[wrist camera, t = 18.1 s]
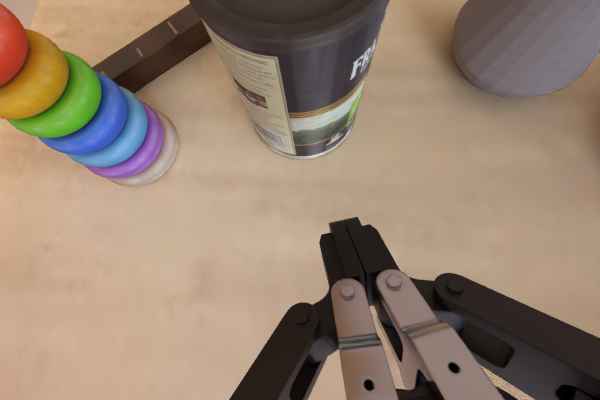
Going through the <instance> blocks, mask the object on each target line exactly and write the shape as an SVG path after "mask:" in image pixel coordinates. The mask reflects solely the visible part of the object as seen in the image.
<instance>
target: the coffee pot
mask: <svg viewBox="0 0 600 400" xmlns="http://www.w3.org/2000/svg"><path fill="white" fill-rule="evenodd" d="M452 48H453V52H454V56H455V60H456V62H457V63H458V65H459V67H460V69H461V70H462V72H463V74H464V75H465V77H466V78H467V79H468V80H469V81H470V82H471V83H472V84H473V85H475V86H477V87H478V88H480V89H481V90H484V91H487V92H490V93H493V94H496V95H499V96H503V97H512V98H528V97H536V96H541V95H546V94H549V93H551V92H554V91H557V90H559V89H562V88H564V87H567V86H568V85H569V84H571V83H572V82H574V81H575V80H576V79H578V78H579V77H580V76H581V75H582V74H583V73H584V72H585V71H586V69H587V68H588V67H589V65H590V64H591V62H592V61H593V60H594V58H595V57H596V56H597V54H598V53H599V52H600V0H468V1H467V2H466V3H465V5H464V6H463V7H462V8H461V10H460V12H459V14H458V17H457V19H456V22H455V24H454V30H453V43H452Z"/></svg>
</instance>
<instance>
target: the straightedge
mask: <svg viewBox="0 0 600 400" xmlns="http://www.w3.org/2000/svg"><path fill="white" fill-rule="evenodd" d="M210 41H212V40H211V38H210V36H209V34H208V32H207V29H206V27H205V25H204V23H203V21H202V19H201V17H200V16H199V15H198V14H197V12H196V11H195V10H194V8H193V7H192V5H191V3H190V4H189V5H187V6H186V7H184V8H183V9H181V10H180V11H178V12H177V13H175V14H174V15H172V16H171V17H169V18H167V19H166V20H164V21H163V22H161V23H160V24H158V25H157V26H155V27H154V28H152V29H151V30H149V31H148V32H146V33H145V34H143V35H141V36H140V37H138V38H137V39H135V40H134V41H132V42H131V43H129V44H128V45H126V46H125V47H123V48H122V49H120V50H118V51H117V52H115V53H114V54H112V55H111V56H109V57H108V58H106V59H105V60H103V61H102V62H100V63H99V64H97V65H96V66H94V67H92V69H93V70H94V71H95V72H98V73H101V74H103V75H105V76H107V77H109V78H110V79H111V80H113V81H114V82H115V83H116V84H117V85H118V86H121V87H123V88H125V89H127V90H129V91H130V92H132V93H134V92H136V91H137V90H139V89H140V88H142V87H143V86H145V85H146V84H148V83H149V82H151V81H152V80H154V79H155V78H157V77H158V76H160V75H161V74H163V73H164V72H166V71H167V70H169V69H170V68H172V67H173V66H175V65H176V64H178V63H179V62H180V61H182V60H183V59H185V58H186V57H188V56H189V55H191V54H192V53H194V52H195V51H197V50H198V49H200V48H201V47H203V46H204V45H206V44H207V43H209V42H210Z"/></svg>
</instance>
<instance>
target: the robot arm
mask: <svg viewBox="0 0 600 400" xmlns="http://www.w3.org/2000/svg"><path fill="white" fill-rule="evenodd" d="M329 227H330V233H327V234H322V235H321V239H320V242H319V243H320V248H321V253H322V258H323V263H324V267H325V271H326V275H327V280H328V284H329V291H328V293H327V295H326V296H325V297H324V298H323V299H322V300H320V301H319V302H317V303H315V304H313V305H311V304H309V303H298V304H295V305H293V306H292V307H291V308H290V309H289V310H288V311H287V312H286V314H285V315H284V317H283V318H282V320H281V322H280V323H279V325H278V326H277V328H276V329H275V331H274V332H273V334H272V335H271V337H270V338H269V340H268V341H267V343H266V344H265V346H264V347H263V349H262V351H261V352H260V354H259V355H258V357H257V358H256V360H255V361H254V363H253V364H252V366H251V367H250V369H249V370H248V372H247V373H246V375H245V377H244V378H243V380H242V381H241V383H240V384H239V386H238V387H237V389H236V390H235V392H234V393H233V395H232V396H231V398H230V399H229V400H308V397H309V395H310V393H311V391H312V389H313V387H314V385H315V382H316V380H317V378H318V376H319V374H320V372H321V370H322V367H323V365H324V363H325V361H326V359H327V356H329V355H330V354H332V353H333V352H335V351H336V350H338V349H339V352H340V359H341V365H342V372H343V378H344V385H345V392H346V398H347V400H518V399H516V398H515V397H513V396H512V395H510V394H509V393H507V392H505V391H504V390H502V389H500V388H498V387H496V386H495V385H494V384H493V383H492V381H491V380H490V379H489V377H488V376H487V374H486V373H485V372H484V370H483V369H482V367H481V366H480V365H482V366H483V367H485V368H486V369H488V370H489V371H491V372H493V373H494V374H496V375H497V376H499V377H500V378H502V379H504V380H505V381H507V382H508V383H510V384H512V385H513V386H515V387H516V388H518V389H519V390H521V391H523V392H524V393H526V394H527V395H529V396H530V397H532V398H534V399H535V400H600V338H598V337H596V336H594V335H591V334H589V333H587V332H585V331H582V330H580V329H578V328H576V327H574V326H571V325H569V324H567V323H565V322H563V321H560V320H558V319H556V318H554V317H551V316H549V315H547V314H545V313H543V312H540V311H538V310H536V309H534V308H531V307H529V306H527V305H525V304H523V303H520V302H518V301H516V300H514V299H511V298H509V297H507V296H505V295H503V294H500V293H498V292H496V291H494V290H491V289H489V288H487V287H485V286H483V285H480V284H478V283H476V282H474V281H472V280H469V279H467V278H465V277H463V276H460V275H457V274H453V273H444V274H441V275H439V276H438V277H437V278H436V279H435V281H428V280H417V279H413V278H411V277H408V276H407V275H406V274H405V273H403V272H402V271H400V269H399V268H398V266H397V265H396V263H395V261H394V259H393V257H392V256H391V254H390V252H389V250H388V248H387V247H386V245H385V243H384V241H383V240H382V238H381V236H380V234H379V232H378V231H377V230H376V229H375V228H374V227H372V226H371V225H370V224H369V225H364V226H362V225H361V223H360V221H359V219H358V217H354V218H350V219H345V220H341V221H336V222H331V223H329ZM373 305H374V307H375V309H376V312H377V320H378V323H379V326H380V328H381V330H382V332H383V334H384V336H385V338H386V341H387V343H388V345H389V347H390V349H391V351H392V353H393V355H394V358H395V360H396V362H397V364H398V367H399V370H400V373H401V377H402V381H403V383H404V386H405V388H406V390H404V389H395V385H394V382H393V379H392V375H391V372H390V368H389V365H388V362H387V358H386V355H385V351H384V348H383V345H382V342H381V340H380V338H379V337H378V335H377V332H376V329H375V325H374V321H373V318H372V314H371V311H370V307H369V306H373ZM479 364H480V365H479Z"/></svg>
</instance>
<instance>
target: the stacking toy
mask: <svg viewBox="0 0 600 400" xmlns="http://www.w3.org/2000/svg"><path fill="white" fill-rule="evenodd" d="M0 118H3V119H7V121H8V122H9V123H10V124H12V125H13V126H14V127H16V128H17V129H19V130H20V131H22V132H25V133H27V134H30V135H33V136H38V137H39V139H40V140H41V141H42V142H44V143H45V144H46V145H48V146H49V147H51V148H53V149H55V150H57V151H59V152H63V153H66V154H67V155H68V156H69V157H71V158H72V159H73V160H75V161H77V162H79V163H81V164H84V165H85V167H86V168H88V169H89V170H90V171H92V172H93V173H95V174H97V175H100V176H103V177H106V178H107V179H109V180H111V181H112V182H114V183H117V184H119V185H124V186H141V185H145V184H148V183H151V182H153V181H155V180H156V179H158V178H159V177H161V176H162V175H163V174H164V173H165V172H166V171H167V170H168V169H169V168H170V166H171V165H172V163H173V162H174V160H175V157H176V155H177V151H178V136H177V132H176V129H175V127H174V125H173V124H172V122H171V121H170V120H169V119H168V118H167V117H166V116H165V115H164V114H162V113H161V112H159V111H157V110H155V109H152V108H151V107H150V106H148V105H147V104H146V103H144V102H142V101H140V100H139V99H138V98H137V97H136V96H135V95H134V94H133V93H132V92H130V91H129V90H127V89H125V88H123V87H121V86H118V85H117V84H116V83H115V82H114V81H113V80H111V79H110V78H109V77H107V76H105V75H103V74H101V73H98V72H95V71H94V70H93V69H92V68H91V67H90V65H89V64H87V63H86V62H85V61H84V60H83V59H81V58H79V57H78V56H76V55H74V54H71V53H69V52H66V51H61V50H60V49H59V48H58V46H57V45H56V44H55V43H53V42H52V41H51V40H50V39H48V38H47V37H45V36H44V35H42V34H40V33H37V32H35V31H32V30H28V29H24V27H23V26H22V24H21V23H20V21H19V20H18V19H17V17H16V16H15V15H14V14H13V13H12V12H11V11H9V10H8V9H7V8H6V7H4V6H3V5H2V4H0Z"/></svg>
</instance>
